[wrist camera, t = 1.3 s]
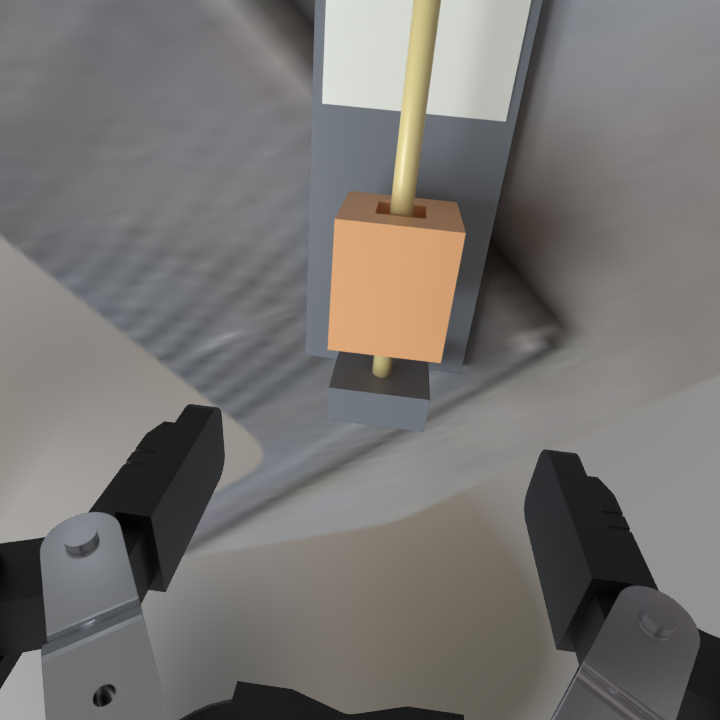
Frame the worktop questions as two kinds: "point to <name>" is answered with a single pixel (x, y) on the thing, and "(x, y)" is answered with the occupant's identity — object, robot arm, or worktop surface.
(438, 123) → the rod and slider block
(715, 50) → the worktop surface
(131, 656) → the robot arm
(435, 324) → the sleeve
